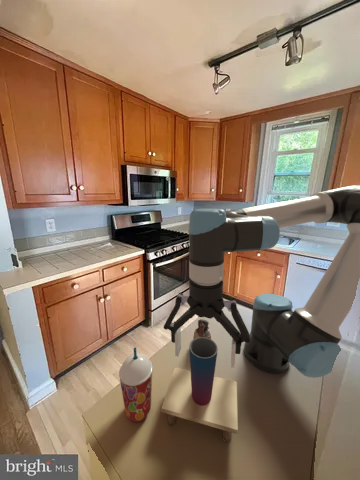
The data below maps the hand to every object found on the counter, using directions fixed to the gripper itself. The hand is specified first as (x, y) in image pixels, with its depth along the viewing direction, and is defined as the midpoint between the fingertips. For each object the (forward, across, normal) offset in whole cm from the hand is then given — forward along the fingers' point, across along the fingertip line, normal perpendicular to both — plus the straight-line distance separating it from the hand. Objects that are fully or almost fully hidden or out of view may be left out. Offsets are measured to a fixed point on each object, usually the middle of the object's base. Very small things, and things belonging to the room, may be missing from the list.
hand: (204, 357), depth 49 cm
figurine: (+18, +4, -23) cm, 29 cm away
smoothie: (+18, +17, +4) cm, 25 cm away
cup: (+12, 0, +1) cm, 12 cm away
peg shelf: (+18, +1, 0) cm, 18 cm away
